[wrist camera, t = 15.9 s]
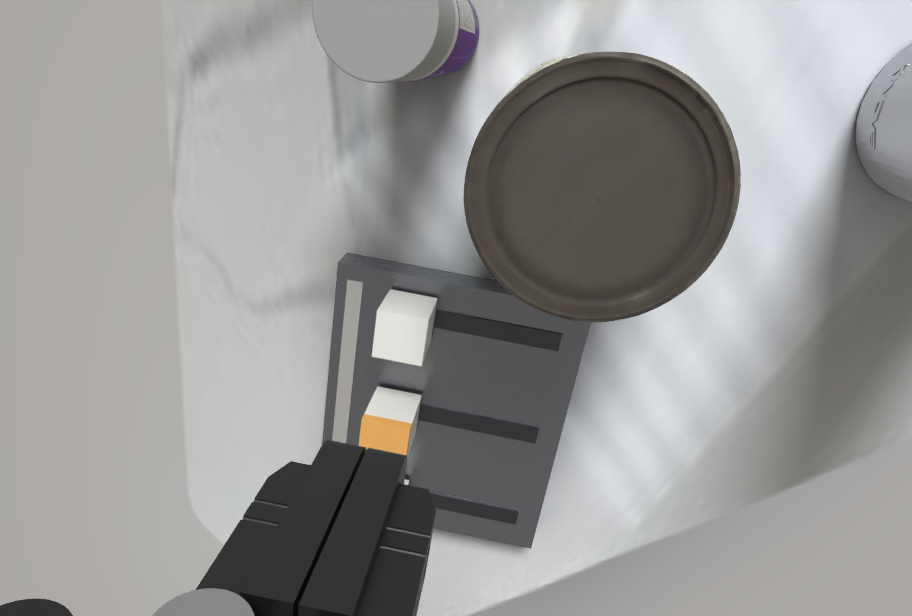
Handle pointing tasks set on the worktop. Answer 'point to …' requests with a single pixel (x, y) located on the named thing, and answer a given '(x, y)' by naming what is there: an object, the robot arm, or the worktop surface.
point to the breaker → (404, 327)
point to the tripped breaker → (390, 421)
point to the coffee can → (602, 186)
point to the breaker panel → (461, 392)
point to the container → (397, 37)
